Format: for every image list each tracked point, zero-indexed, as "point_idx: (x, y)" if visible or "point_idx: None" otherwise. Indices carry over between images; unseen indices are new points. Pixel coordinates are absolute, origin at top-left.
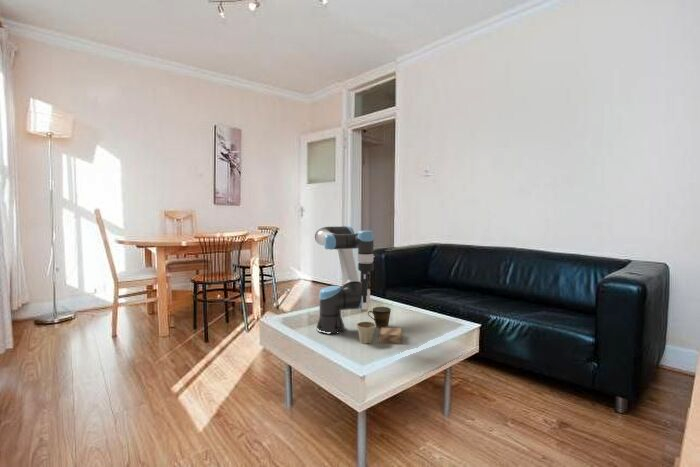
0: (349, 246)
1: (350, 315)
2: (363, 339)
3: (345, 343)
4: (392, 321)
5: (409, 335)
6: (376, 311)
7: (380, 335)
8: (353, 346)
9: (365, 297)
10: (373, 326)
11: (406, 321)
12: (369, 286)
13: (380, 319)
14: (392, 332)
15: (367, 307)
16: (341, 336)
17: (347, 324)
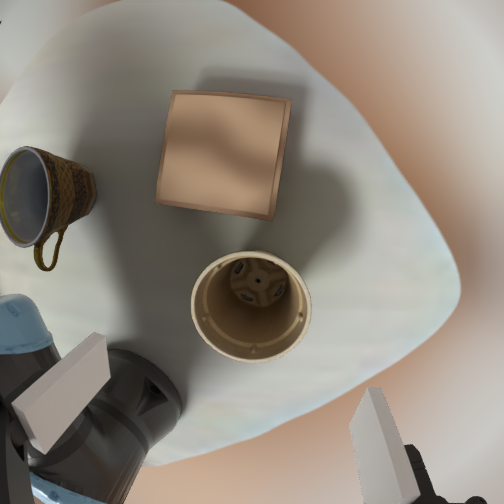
0: None
1: None
2: (287, 299)
3: (276, 361)
4: None
5: (185, 69)
6: (45, 228)
7: (273, 214)
8: (313, 333)
9: (430, 489)
10: (289, 269)
11: (41, 94)
12: (5, 441)
13: (74, 201)
14: (241, 142)
15: (384, 399)
16: (197, 369)
17: (72, 328)
